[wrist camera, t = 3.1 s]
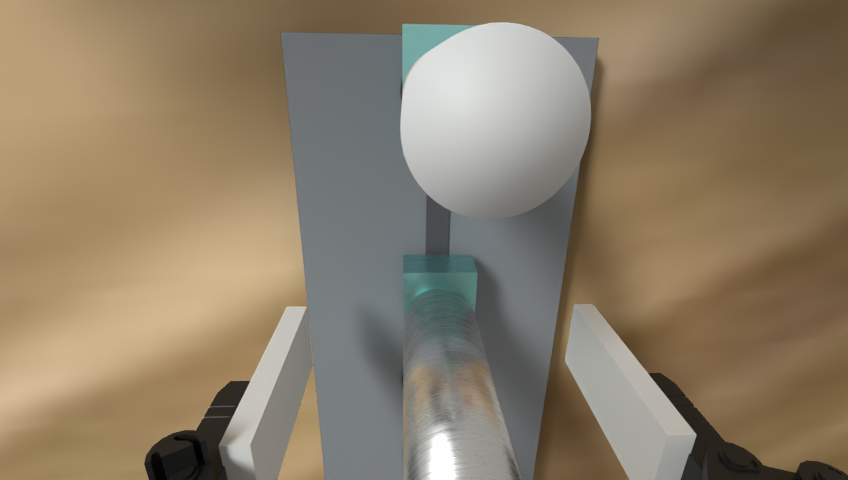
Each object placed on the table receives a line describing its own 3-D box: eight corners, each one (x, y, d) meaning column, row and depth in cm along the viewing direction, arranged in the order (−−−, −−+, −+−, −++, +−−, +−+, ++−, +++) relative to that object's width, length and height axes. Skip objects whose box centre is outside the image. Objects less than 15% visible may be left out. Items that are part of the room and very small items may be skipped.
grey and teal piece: (290, 29, 17) (56, -46, 6) (584, 34, 18) (921, -25, 6) (332, 493, 27) (278, 813, 15) (521, 487, 28) (607, 793, 16)
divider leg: (403, 254, 19) (402, 465, 9) (471, 254, 19) (544, 462, 9) (403, 339, 21) (403, 597, 11) (466, 338, 21) (523, 591, 11)
